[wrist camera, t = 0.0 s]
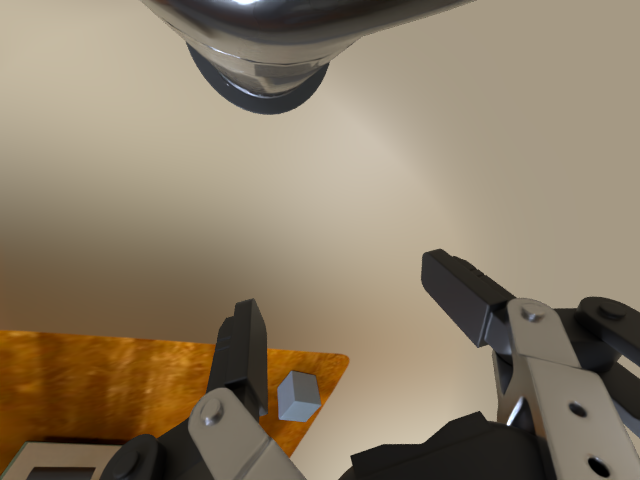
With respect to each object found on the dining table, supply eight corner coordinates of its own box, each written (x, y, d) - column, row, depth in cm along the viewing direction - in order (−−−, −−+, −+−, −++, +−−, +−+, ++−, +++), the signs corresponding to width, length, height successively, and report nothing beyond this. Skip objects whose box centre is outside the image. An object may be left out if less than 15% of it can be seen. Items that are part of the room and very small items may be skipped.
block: (291, 370, 37) (294, 401, 33) (315, 375, 39) (321, 404, 35) (277, 387, 39) (278, 419, 35) (301, 391, 40) (305, 422, 36)
